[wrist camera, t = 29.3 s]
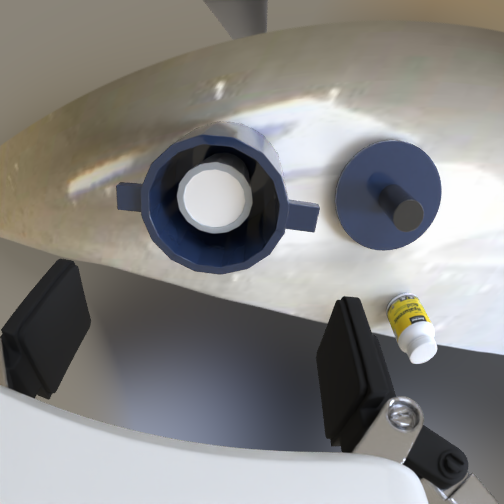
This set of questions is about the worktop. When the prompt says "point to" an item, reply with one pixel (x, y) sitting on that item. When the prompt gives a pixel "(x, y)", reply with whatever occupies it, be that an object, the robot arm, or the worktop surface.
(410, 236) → the pot lid
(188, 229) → the pot
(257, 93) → the worktop surface
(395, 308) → the supplement bottle
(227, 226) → the white cup
